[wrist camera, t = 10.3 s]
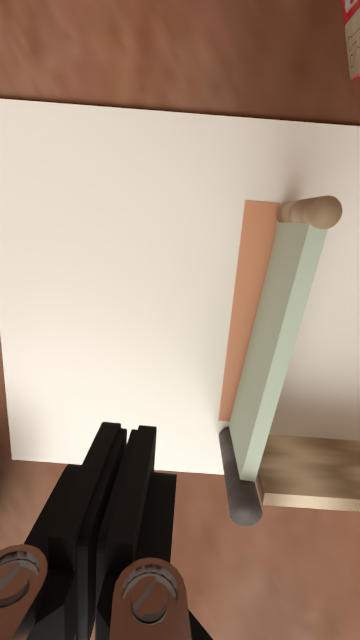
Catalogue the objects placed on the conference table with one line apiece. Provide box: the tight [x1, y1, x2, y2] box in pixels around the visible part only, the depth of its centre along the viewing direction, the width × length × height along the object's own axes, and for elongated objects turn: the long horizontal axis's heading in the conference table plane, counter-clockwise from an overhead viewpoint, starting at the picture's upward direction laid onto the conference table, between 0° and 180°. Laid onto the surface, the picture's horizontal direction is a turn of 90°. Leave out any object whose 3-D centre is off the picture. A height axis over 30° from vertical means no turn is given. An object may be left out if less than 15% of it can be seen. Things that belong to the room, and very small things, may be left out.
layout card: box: [0, 99, 360, 475], centre depth 26 cm, size 34×28×1 cm
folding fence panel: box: [229, 195, 342, 482], centre depth 22 cm, size 18×2×6 cm, turn 170°
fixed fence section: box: [219, 427, 360, 526], centre depth 25 cm, size 16×2×8 cm, turn 86°
